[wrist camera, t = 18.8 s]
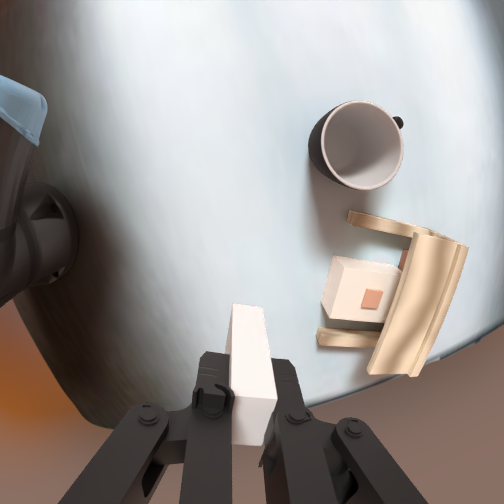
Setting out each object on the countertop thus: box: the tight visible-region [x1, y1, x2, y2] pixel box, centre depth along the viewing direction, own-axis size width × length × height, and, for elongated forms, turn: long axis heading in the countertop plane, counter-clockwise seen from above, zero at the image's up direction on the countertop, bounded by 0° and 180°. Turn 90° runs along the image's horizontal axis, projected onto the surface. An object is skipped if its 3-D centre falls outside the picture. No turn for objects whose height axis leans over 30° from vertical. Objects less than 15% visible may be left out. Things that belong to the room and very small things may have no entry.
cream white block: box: [321, 255, 402, 323], centre depth 39 cm, size 10×7×6 cm
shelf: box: [316, 210, 469, 377], centre depth 37 cm, size 14×19×10 cm
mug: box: [308, 101, 403, 190], centre depth 31 cm, size 12×9×10 cm
